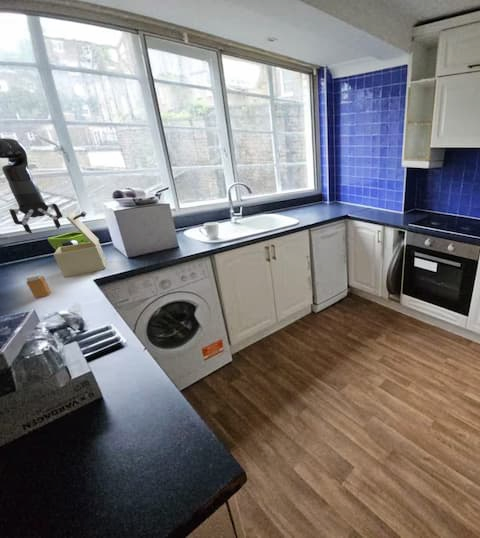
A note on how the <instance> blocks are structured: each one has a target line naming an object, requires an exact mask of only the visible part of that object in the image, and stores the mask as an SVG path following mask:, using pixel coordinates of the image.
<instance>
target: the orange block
mask: <svg viewBox="0 0 480 538" xmlns="http://www.w3.org/2000/svg"><path fill="white" fill-rule="evenodd" d="M25 280H26V284H27V286H28V287H29V289H30V292H31V293H32V295H33V297H34V299H39V298H43V297H47V296H50V295H51V293H52V291H51V289H50V287H49V284H48V283H47V281H46V279H45V277H44V275H42V274H41V273H35V274H29V275H27V277H25Z"/></svg>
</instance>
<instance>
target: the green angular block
mask: <svg viewBox="0 0 480 538" xmlns="http://www.w3.org/2000/svg"><path fill="white" fill-rule="evenodd" d="M71 240H75V241H77V243H78V244H82V243H88V242H90V241H89V240H88V239H87V238H86V237H85V236H84V235H83V234H82V233H81V232H80V231H70V232H66V233H62V234H59V235H56V236H52V237H49V238H47V241H48V243H49V244H50V246H51V247H52V248H53V249H55V251H56V250H57V249H58V248H59V247H63V246H62V243H63V242H66V241H71Z"/></svg>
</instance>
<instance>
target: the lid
mask: <svg viewBox="0 0 480 538" xmlns="http://www.w3.org/2000/svg"><path fill="white" fill-rule="evenodd" d="M86 216H87V212H86V211H81V213H80V214H77V215H76V214H75V213H73V212H70V213H68V215H67V216H66V218H65V219H67V220H68V221H69V223H70V224H71V225H72V226H74V227H75V228H76V229H77V230H78V232H81V233H82V234H83V235H84V236H85V237H86V238H87V239H88V240H89V241H90V242H91V243H92V244H93V245H94V246H97V243H98V241H99V240H100V239H99V238H98V237H97V235H95V234H94V233H93V232H92V231H91V230H90V229H89V228H88V226H86V224H84V222H82V220H81V219H79V218H86ZM99 242H100V241H99Z"/></svg>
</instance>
